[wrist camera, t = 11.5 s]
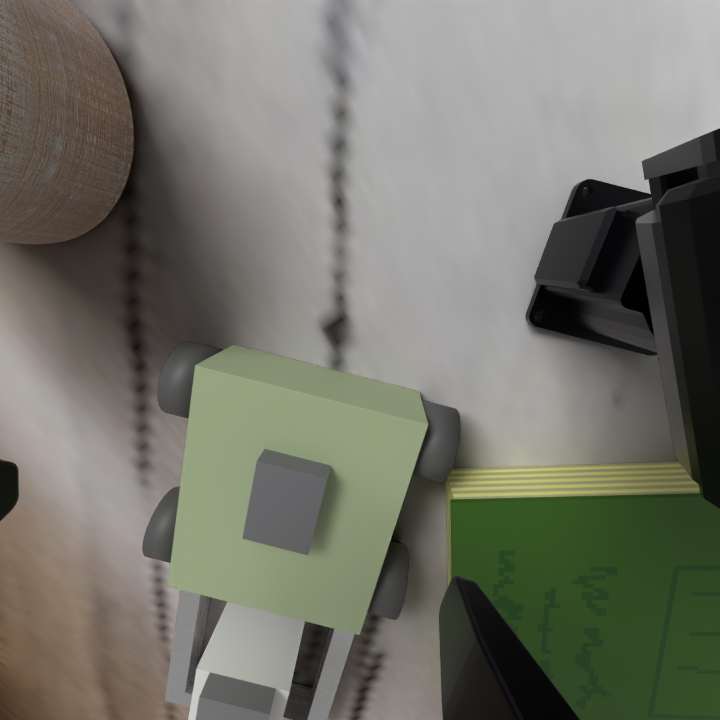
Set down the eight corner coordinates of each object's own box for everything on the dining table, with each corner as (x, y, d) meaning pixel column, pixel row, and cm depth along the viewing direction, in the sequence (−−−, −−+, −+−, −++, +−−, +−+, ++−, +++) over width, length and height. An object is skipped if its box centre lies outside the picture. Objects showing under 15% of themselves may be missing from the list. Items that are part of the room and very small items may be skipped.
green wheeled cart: (451, 397, 19) (474, 444, 14) (389, 581, 22) (390, 670, 17) (202, 334, 19) (139, 359, 14) (178, 528, 22) (120, 602, 17)
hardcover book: (444, 699, 25) (455, 772, 22) (439, 460, 20) (451, 502, 17) (840, 707, 23) (924, 790, 19) (937, 443, 18) (1073, 487, 15)
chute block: (313, 582, 23) (283, 717, 16) (293, 661, 24) (258, 812, 18) (244, 565, 23) (185, 693, 16) (229, 645, 24) (170, 791, 18)
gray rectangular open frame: (366, 573, 22) (364, 602, 20) (325, 703, 25) (320, 740, 23) (202, 531, 22) (184, 557, 20) (181, 667, 25) (165, 700, 23)
